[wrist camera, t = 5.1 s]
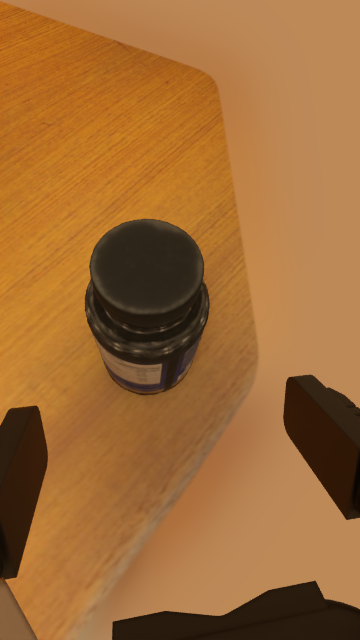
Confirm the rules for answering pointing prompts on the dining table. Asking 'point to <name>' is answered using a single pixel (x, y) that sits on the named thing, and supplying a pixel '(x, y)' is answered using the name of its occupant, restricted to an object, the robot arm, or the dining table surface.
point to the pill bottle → (147, 304)
